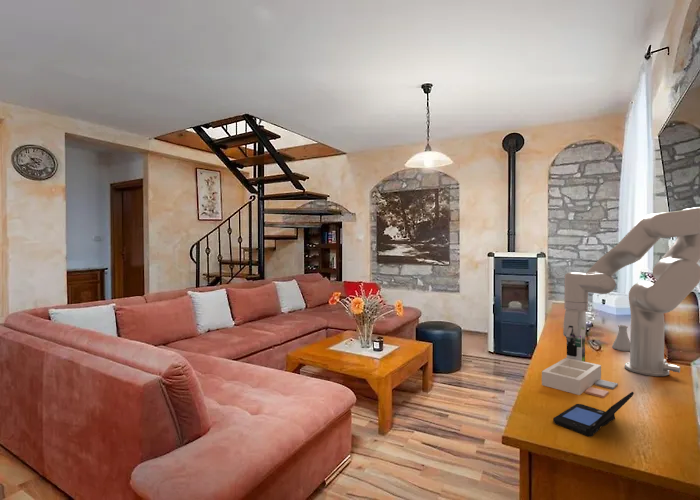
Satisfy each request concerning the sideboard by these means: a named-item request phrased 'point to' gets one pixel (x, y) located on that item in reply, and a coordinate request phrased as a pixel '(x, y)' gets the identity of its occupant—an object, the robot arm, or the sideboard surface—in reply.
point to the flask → (622, 339)
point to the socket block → (576, 377)
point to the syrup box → (579, 347)
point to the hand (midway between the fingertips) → (575, 353)
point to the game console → (588, 417)
